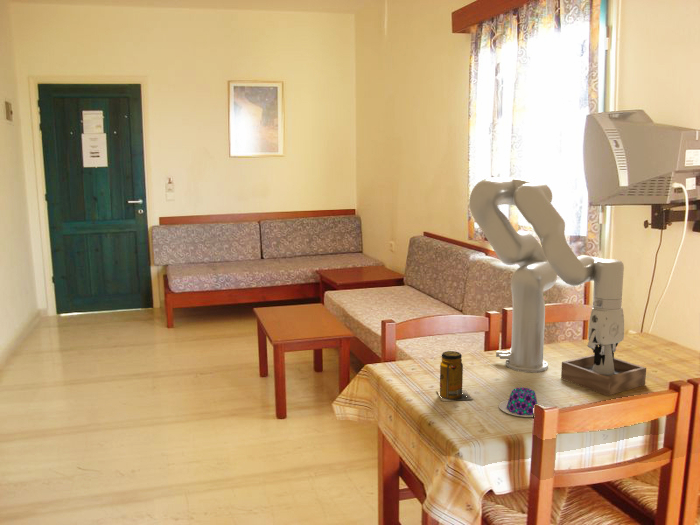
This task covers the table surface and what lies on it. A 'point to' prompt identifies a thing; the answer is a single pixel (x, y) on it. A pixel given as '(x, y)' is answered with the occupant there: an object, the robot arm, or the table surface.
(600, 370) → the salt shaker
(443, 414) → the table surface
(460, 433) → the table surface
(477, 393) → the table surface
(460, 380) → the condiment
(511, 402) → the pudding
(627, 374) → the bore box
